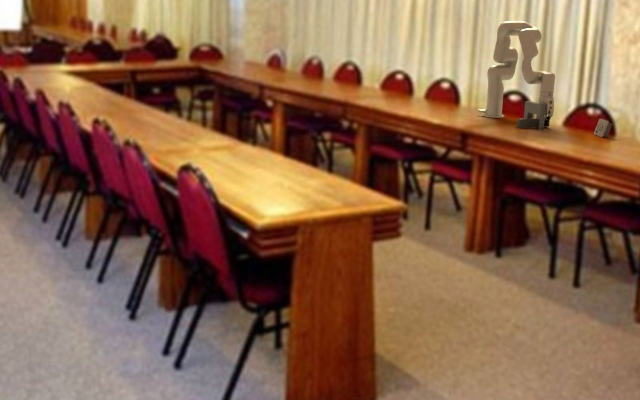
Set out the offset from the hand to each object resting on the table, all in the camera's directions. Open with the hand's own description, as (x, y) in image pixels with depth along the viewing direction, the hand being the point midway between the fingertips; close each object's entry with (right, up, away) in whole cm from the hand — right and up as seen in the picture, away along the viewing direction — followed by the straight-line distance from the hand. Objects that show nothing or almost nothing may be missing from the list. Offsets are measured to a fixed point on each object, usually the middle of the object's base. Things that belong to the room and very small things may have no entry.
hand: (543, 125), depth 501 cm
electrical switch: (+26, -8, -24) cm, 36 cm away
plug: (-8, -1, -3) cm, 8 cm away
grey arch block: (-7, -1, -2) cm, 7 cm away
